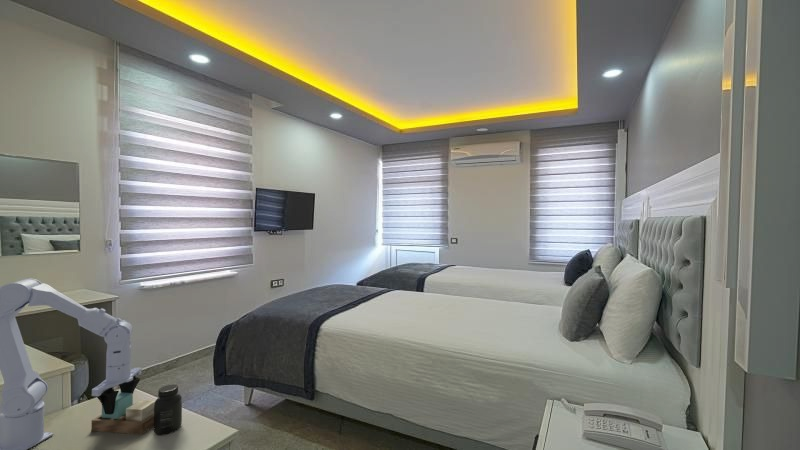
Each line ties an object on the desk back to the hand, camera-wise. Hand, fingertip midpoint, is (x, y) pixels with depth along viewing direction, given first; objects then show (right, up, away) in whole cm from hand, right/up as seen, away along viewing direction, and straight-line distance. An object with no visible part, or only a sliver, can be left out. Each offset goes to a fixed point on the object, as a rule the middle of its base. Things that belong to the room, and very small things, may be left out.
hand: (117, 408), depth 102 cm
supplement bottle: (+17, -5, -2) cm, 17 cm away
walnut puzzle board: (+4, -5, 0) cm, 6 cm away
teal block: (0, -2, 0) cm, 2 cm away
